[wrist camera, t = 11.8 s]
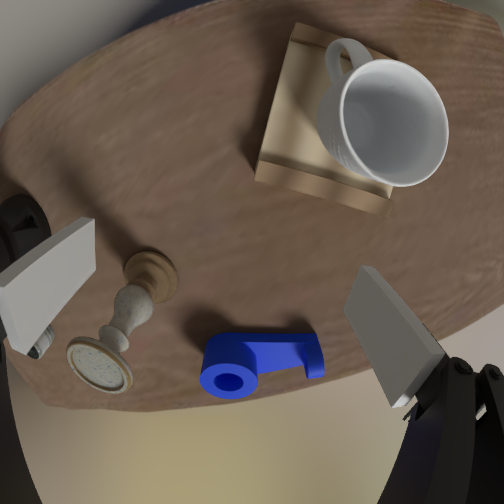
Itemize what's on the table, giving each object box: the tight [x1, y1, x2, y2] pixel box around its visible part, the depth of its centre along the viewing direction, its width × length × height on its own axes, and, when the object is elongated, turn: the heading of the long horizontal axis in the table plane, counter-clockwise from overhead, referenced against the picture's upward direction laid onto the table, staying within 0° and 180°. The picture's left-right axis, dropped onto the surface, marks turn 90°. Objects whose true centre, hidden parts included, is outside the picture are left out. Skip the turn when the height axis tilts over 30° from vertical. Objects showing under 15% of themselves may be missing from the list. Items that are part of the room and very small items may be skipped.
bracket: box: [200, 332, 324, 399], centre depth 43 cm, size 20×9×8 cm, turn 96°
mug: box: [316, 38, 449, 187], centre depth 23 cm, size 15×11×13 cm
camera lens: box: [27, 325, 54, 359], centre depth 42 cm, size 6×6×8 cm
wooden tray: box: [254, 22, 394, 219], centre depth 30 cm, size 18×21×4 cm
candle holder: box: [66, 251, 178, 394], centre depth 31 cm, size 9×9×20 cm
